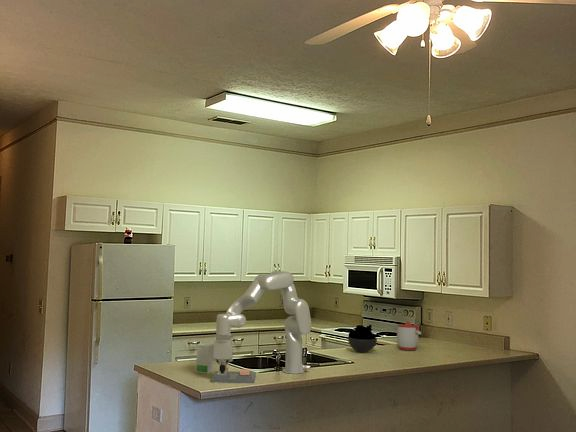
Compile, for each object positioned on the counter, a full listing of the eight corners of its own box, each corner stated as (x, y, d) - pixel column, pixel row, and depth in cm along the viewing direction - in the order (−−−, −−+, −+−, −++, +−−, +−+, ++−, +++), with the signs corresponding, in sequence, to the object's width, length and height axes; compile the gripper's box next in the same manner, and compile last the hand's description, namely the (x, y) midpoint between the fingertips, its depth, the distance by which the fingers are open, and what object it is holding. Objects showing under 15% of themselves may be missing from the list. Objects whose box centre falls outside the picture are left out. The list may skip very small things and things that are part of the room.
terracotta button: (250, 373, 325) (250, 369, 325) (249, 375, 320) (249, 371, 320) (240, 373, 325) (240, 369, 325) (239, 375, 320) (240, 371, 320)
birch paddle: (228, 371, 335) (229, 359, 336) (228, 372, 332) (228, 361, 333) (222, 371, 335) (222, 359, 336) (221, 372, 332) (221, 360, 333)
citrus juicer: (416, 352, 424) (416, 323, 425) (392, 349, 433) (393, 321, 434) (424, 349, 437) (424, 321, 438) (401, 347, 446) (401, 319, 447)
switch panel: (255, 375, 337) (255, 369, 337) (253, 383, 318) (254, 376, 318) (215, 374, 337) (216, 368, 337) (211, 382, 318) (211, 375, 318)
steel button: (227, 375, 325) (227, 371, 325) (226, 377, 320) (226, 373, 320) (218, 375, 325) (218, 371, 325) (216, 377, 320) (217, 373, 320)
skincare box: (195, 372, 342) (196, 344, 343) (201, 370, 348) (201, 342, 349) (208, 373, 339) (209, 345, 340) (214, 371, 345) (214, 343, 346)
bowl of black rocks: (349, 354, 410) (349, 326, 411) (346, 349, 430) (346, 322, 431) (378, 355, 410) (379, 326, 411) (374, 350, 430) (374, 323, 431)
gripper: (237, 336, 327) (237, 371, 326) (209, 336, 327) (209, 370, 326) (236, 338, 320) (235, 374, 319) (208, 338, 320) (207, 373, 319)
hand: (222, 372), depth 323 cm, fingers closed
